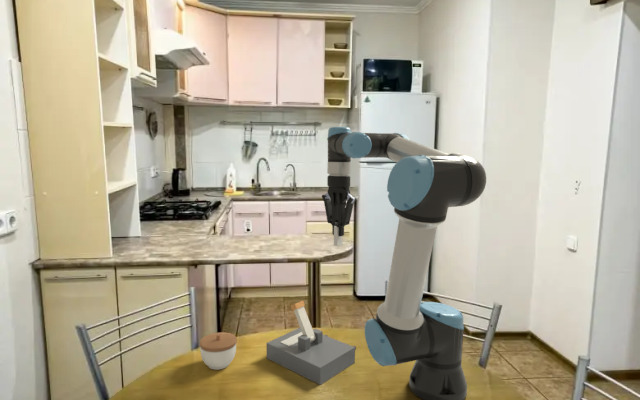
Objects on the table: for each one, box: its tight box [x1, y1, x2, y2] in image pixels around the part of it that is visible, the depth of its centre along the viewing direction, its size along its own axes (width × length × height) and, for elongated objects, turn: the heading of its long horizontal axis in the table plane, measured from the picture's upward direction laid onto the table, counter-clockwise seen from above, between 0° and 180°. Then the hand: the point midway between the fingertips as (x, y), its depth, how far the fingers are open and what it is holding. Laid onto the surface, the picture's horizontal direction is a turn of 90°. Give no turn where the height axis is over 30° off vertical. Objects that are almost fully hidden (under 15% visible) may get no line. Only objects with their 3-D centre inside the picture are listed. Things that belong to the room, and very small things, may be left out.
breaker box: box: [266, 327, 356, 386], centre depth 129 cm, size 22×16×8 cm
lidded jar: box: [199, 331, 237, 371], centre depth 126 cm, size 11×11×9 cm
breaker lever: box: [290, 300, 316, 342], centre depth 130 cm, size 2×4×12 cm, turn 139°
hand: (338, 245), depth 141 cm, fingers closed
